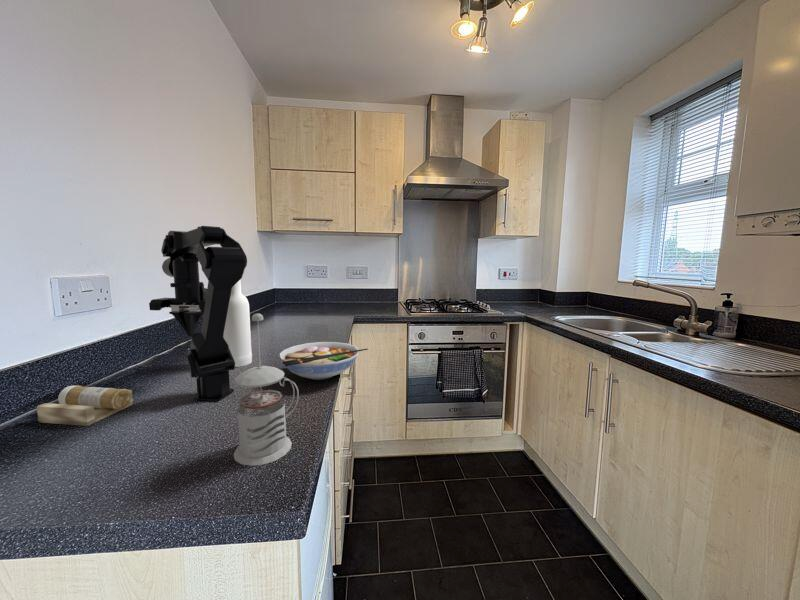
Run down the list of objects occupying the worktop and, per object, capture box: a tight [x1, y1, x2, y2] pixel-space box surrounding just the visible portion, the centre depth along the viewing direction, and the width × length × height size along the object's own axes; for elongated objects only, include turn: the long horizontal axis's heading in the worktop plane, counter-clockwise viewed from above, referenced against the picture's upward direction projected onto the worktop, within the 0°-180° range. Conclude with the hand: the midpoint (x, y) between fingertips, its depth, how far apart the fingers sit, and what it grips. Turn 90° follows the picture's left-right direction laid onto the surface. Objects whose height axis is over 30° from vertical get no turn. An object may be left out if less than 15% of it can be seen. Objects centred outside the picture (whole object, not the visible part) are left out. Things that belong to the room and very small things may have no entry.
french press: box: [233, 313, 300, 467], centre depth 58 cm, size 10×12×25 cm
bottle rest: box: [36, 389, 134, 427], centre depth 71 cm, size 12×10×4 cm
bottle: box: [223, 278, 253, 368], centre depth 104 cm, size 8×8×30 cm
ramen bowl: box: [278, 341, 369, 381], centre depth 95 cm, size 25×23×8 cm
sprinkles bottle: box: [57, 385, 131, 411], centre depth 72 cm, size 5×5×14 cm
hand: (191, 335), depth 88 cm, fingers closed
